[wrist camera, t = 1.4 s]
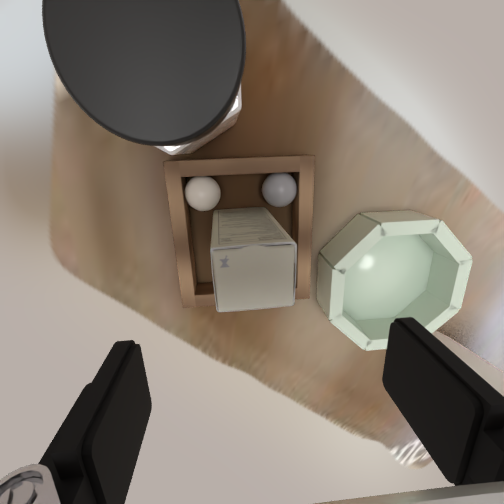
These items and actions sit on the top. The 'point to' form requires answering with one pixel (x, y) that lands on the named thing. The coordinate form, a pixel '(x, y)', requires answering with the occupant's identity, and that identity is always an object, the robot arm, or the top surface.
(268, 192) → the pebble
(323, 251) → the bowl
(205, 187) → the pebble
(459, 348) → the foam cup
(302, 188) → the tray
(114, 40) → the jar
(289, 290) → the box
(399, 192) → the top surface
